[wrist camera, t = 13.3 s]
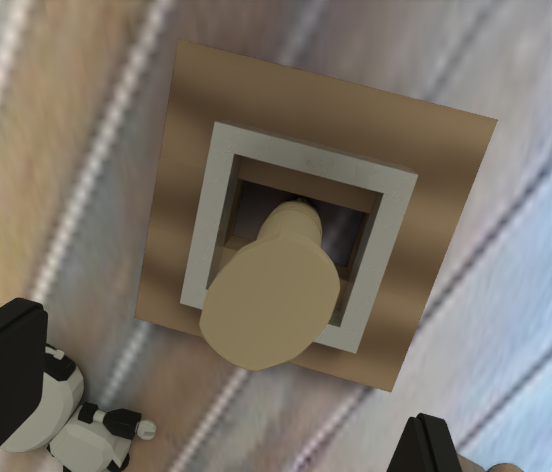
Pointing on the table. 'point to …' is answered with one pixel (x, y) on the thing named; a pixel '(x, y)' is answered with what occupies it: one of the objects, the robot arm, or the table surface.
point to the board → (311, 188)
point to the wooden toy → (470, 468)
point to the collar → (314, 160)
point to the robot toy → (77, 423)
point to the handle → (273, 292)
